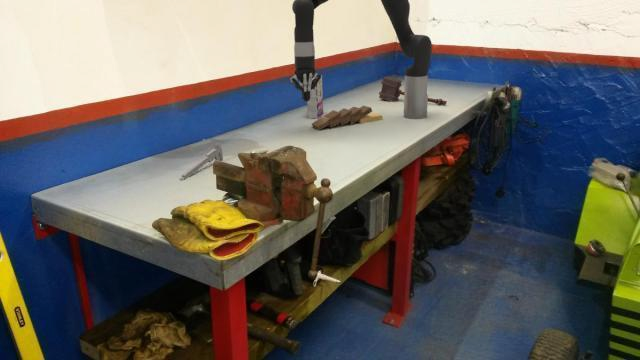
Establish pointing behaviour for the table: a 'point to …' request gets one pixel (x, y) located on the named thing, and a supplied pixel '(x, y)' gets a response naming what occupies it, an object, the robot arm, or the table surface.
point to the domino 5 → (370, 118)
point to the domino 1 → (326, 120)
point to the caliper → (205, 161)
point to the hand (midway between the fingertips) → (306, 100)
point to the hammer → (398, 91)
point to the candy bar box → (315, 101)
